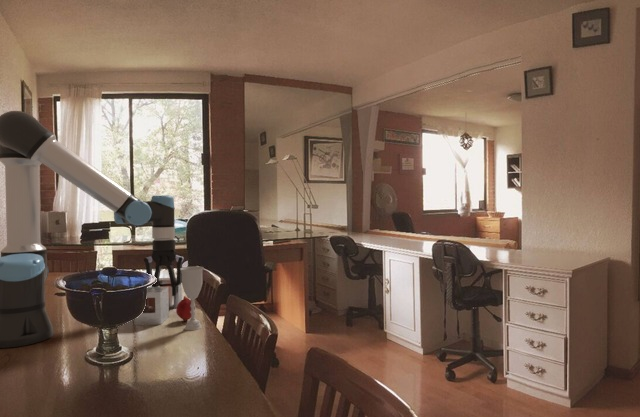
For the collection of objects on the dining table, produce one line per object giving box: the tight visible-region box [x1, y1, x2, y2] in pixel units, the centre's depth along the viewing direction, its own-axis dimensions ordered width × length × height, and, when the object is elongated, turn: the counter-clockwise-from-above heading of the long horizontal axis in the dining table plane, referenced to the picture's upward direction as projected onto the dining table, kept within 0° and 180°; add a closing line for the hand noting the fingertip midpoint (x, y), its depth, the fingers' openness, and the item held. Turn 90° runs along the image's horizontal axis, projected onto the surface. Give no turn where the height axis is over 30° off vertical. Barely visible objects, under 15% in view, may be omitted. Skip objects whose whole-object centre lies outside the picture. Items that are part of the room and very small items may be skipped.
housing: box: [133, 286, 170, 326], centre depth 139 cm, size 9×8×10 cm
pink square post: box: [148, 284, 172, 306], centre depth 151 cm, size 18×4×4 cm, turn 4°
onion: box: [175, 295, 196, 322], centre depth 138 cm, size 6×6×8 cm
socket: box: [157, 277, 183, 309], centre depth 158 cm, size 4×8×10 cm, turn 94°
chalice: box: [180, 265, 205, 331], centre depth 131 cm, size 7×7×18 cm
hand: (165, 305), depth 153 cm, fingers closed on pink square post, 4 cm apart
